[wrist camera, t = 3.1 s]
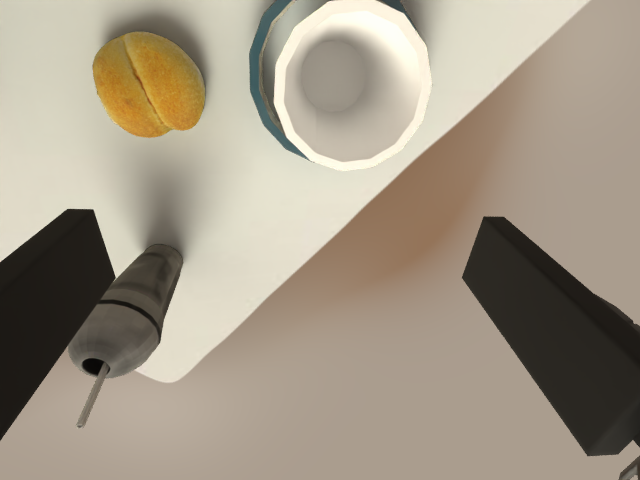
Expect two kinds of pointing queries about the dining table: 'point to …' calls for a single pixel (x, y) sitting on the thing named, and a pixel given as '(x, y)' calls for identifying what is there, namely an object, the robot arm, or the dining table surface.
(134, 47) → the bread roll
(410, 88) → the foam cup
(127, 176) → the dining table surface
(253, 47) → the ring
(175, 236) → the dining table surface
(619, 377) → the robot arm
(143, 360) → the beverage cup
